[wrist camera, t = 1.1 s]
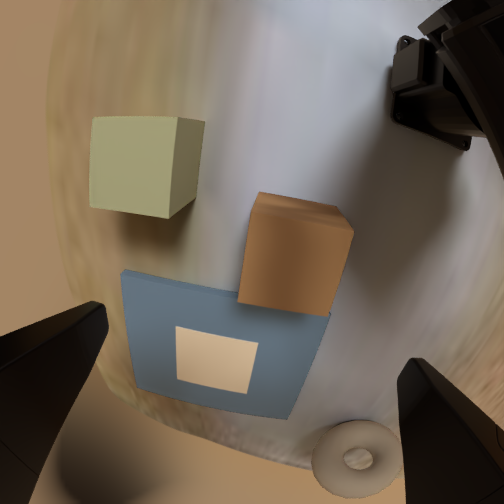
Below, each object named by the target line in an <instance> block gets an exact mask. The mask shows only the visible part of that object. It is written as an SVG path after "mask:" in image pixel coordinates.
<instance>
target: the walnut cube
mask: <svg viewBox="0 0 504 504" xmlns="http://www.w3.org/2000/svg"><path fill="white" fill-rule="evenodd" d="M353 235H354V230H353V229H352V227H351V226H350V224H349V223H348V222H347V220H346V219H345V217H344V216H343V215H342V213H341V212H340V211H339V209H338V208H337V207H336V206H332V205H327V204H322V203H317V202H312V201H307V200H302V199H297V198H292V197H286V196H281V195H275V194H269V193H264V192H259V193H258V196H257V198H256V201H255V203H254V206H253V208H252V211H251V215H250V221H249V228H248V235H247V241H246V248H245V254H244V261H243V268H242V274H241V281H240V288H239V294H238V301H237V302H240V303H245V304H251V305H257V306H262V307H268V308H274V309H280V310H286V311H292V312H299V313H305V314H312V315H319V316H326V317H328V315H329V312H330V309H331V306H332V303H333V300H334V297H335V294H336V291H337V288H338V285H339V282H340V279H341V276H342V272H343V269H344V266H345V263H346V259H347V256H348V253H349V249H350V246H351V242H352V239H353Z"/></svg>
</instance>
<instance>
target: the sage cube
mask: <svg viewBox="0 0 504 504" xmlns="http://www.w3.org/2000/svg"><path fill="white" fill-rule="evenodd" d="M204 126H205V121H199V120H193V119H187V118H180V117H160V116H111V117H93V120H92V131H91V145H90V169H89V203H90V207H94V208H101V209H108V210H115V211H121V212H128V213H135V214H141V215H148V216H154V217H160V218H167V219H169V218H170V217H171V216H173V215H174V214H175V213H177V212H178V211H179V210H180V209H182V208H183V207H184V206H186V205H187V204H188V203H189V202H191V201H192V200H193V199H195V198H196V194H197V184H198V174H199V165H200V157H201V149H202V141H203V133H204Z"/></svg>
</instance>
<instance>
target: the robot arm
mask: <svg viewBox="0 0 504 504" xmlns="http://www.w3.org/2000/svg"><path fill="white" fill-rule="evenodd" d="M418 29H419V30H420V31H421V32H422V33H423V35H424V36H425V35H426V36H427V37H428V38H429V40H427V39H425V38H421V39H419V40H416V39H414V38H412V37H409V36H406V35H404V36H402V37H401V38H399V41H398V53H397V54H395V55H394V59H393V69H392V78H391V87H390V88H391V90H392V92H394V93H393V100H392V107H391V119H392V121H393V122H394V123H396V124H399V125H401V126H404V127H407V128H410V129H413V130H415V131H418V132H420V133H423V134H426V135H428V136H431V137H433V138H435V139H438V140H440V141H443V142H445V143H447V144H449V145H452V146H454V147H456V148H458V149H460V150H464V151H467V150H469V149H470V146H471V139H472V136H476V137H484V138H487V140H488V142H489V144H490V147H491V149H492V151H493V153H494V156H495V158H496V161H497V163H498V166H499V168H500V171H501V174H502V176H503V179H504V0H452V1H450V2H449V3H447V4H446V5H444V6H443V7H441V8H440V9H438V10H437V11H436V12H435V13H433V14H432V15H431V16H430V17H429V18H427V19H426V20H425V21H424V22H423V23H421V24H420V25H419V26H418ZM404 40H406V41H407V42H408V44H409V45H407V44H405V42H404ZM397 113H399V114H400V115H401V119H400V120H398V119H397V117H396V114H397ZM463 141H464V142H465V146H463ZM108 330H109V324H108V319H107V313H106V308H105V305H104V304H102V303H99V302H96V301H90V302H87V303H84V304H82V305H79V306H77V307H74V308H72V309H69V310H66V311H64V312H62V313H59V314H56V315H54V316H51V317H48V318H46V319H43V320H41V321H38V322H36V323H33V324H31V325H28V326H26V327H23V328H20V329H18V330H15V331H13V332H10V333H8V334H6V335H3V336H0V504H28V503H29V501H30V498H31V496H32V493H33V491H34V488H35V485H36V483H37V481H38V478H39V475H40V473H41V471H42V468H43V466H44V464H45V461H46V459H47V457H48V455H49V453H50V450H51V448H52V446H53V444H54V442H55V440H56V438H57V435H58V433H59V431H60V429H61V427H62V425H63V423H64V421H65V419H66V417H67V415H68V413H69V411H70V409H71V407H72V406H73V404H74V402H75V399H76V398H77V396H78V394H79V392H80V391H81V389H82V387H83V385H84V383H85V382H86V380H87V378H88V376H89V374H90V372H91V370H92V367H93V365H94V363H95V361H96V358H97V356H98V354H99V352H100V349H101V347H102V345H103V343H104V340H105V338H106V336H107V334H108ZM397 392H398V409H399V427H400V436H401V444H402V453H403V463H404V475H405V491H406V504H504V431H503V430H502V429H501V428H500V427H499V426H498V425H497V424H495V422H494V421H493V420H492V419H491V418H490V417H488V416H487V415H486V414H485V413H484V412H483V411H482V410H481V409H480V408H479V407H477V406H476V405H475V404H474V403H473V402H472V401H471V400H470V399H469V398H468V397H466V396H465V395H464V394H463V393H462V392H461V391H460V390H459V389H458V388H456V387H455V386H454V385H453V384H452V383H451V382H450V381H448V380H447V379H446V378H445V377H444V376H443V375H442V374H441V373H439V372H438V371H437V370H436V369H435V368H434V367H432V366H431V365H430V364H429V363H428V362H427V361H426V360H424V359H423V358H411V359H409V360H408V362H407V364H406V365H405V367H404V368H403V370H402V371H401V373H400V375H399V376H398V379H397Z"/></svg>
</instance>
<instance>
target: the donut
mask: <svg viewBox="0 0 504 504" xmlns="http://www.w3.org/2000/svg"><path fill="white" fill-rule="evenodd" d="M351 448H363V449H366V450H367V451H369V452H370V453H371V454H372V457H373V463H372V464H371V466H370V467H368V468H366V469H362V470H356V469H353V468H350V467H349V466H347V464H346V463H345V461H344V454H345V452H346V451H347V450H349V449H351ZM402 463H403V453H402V446H401V443H400V441H399V439H398V437H397V436H396V435H395V434H394V433H393V432H392V431H391V430H390V429H389V428H387V427H385V426H383V425H381V424H380V423H376V422H372V421H368V420H354V421H350V422H345V423H342V424H340V425H338V426H336V427H334V428H332V429H330V430H329V431H328V432H326V433H325V434H324V435H323V436H322V437H321V438H320V439H319V441H318V443H317V445H316V446H315V448H314V450H313V455H312V460H311V464H312V469H313V473H314V476H315V478H316V479H317V481H318V482H319V484H320V485H321V486H322V487H323V488H325V489H326V490H327V491H329V492H330V493H332V494H334V495H337V496H340V497H343V498H364V497H368V496H371V495H374V494H377V493H379V492H380V491H382V490H383V489H385V488H386V487H388V486H389V485H390V484H391V483H392V482H393V481H394V479H395V478H396V477H397V475H398V474H399V472H400V469H401V466H402Z"/></svg>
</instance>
